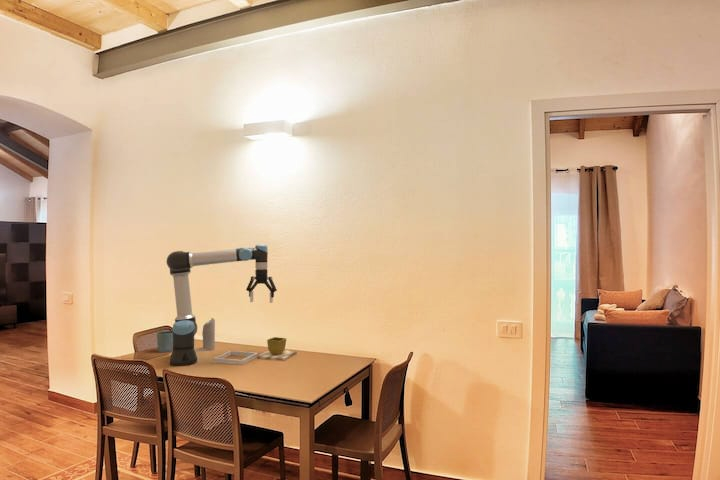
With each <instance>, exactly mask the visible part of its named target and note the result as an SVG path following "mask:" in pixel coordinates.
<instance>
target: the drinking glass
mask: <svg viewBox="0 0 720 480" xmlns="http://www.w3.org/2000/svg"><path fill="white" fill-rule="evenodd" d="M156 339H157V352H158V353H169V352H171V351H173V330H163V331H162V330H160V331H157V332H156Z"/></svg>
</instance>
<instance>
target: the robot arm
mask: <svg viewBox="0 0 720 480" xmlns="http://www.w3.org/2000/svg"><path fill="white" fill-rule="evenodd" d="M250 260H252V261H253V260H255V264H254V265H255V266H254V267H255V270H254V274H255V276H254V275H252V276H250V280H249V283H248V284H247V287H246V292H248V297H250V298H249V299H250V301H249V302H250V303H253V302H254V291H253V290H254V289H255V288H256V287H257V286H258V284H259V285H260V284H264V285H265V286H266V287H267V290H268V291H269V303H270V304H272V303H273V301H274V297H275V292H277V291H278V289H277V287H276V286H275V282H274V281H273V277H272V276H268V246H267V244H256V245H255V247H237V248H232V249H224V250H222V249H221V250H214V251H204V252H201V251H200V252H195V253H194V252H191V251H183V250H176V251H172V252H171V253H169V254H168V255H167V258H166V265H167V267H168V268H169V274H170V275H171V276H172V278H173V279H172V280H173V287H174V288H173V289H174V297H175V298H174V299H175V305H176V306H175V307H176V317H175V318H174V323H173V325H172V328H171V329H172V330H171V331H173V344H172V345H173V347H172V352H171V354H170V357H169V360H168V364H169V365H170V366H173V367H179V366H180V367H181V366H183V367H184V366H190V365H194V364H196V363H197V362H198V355H197V352H196V351H195V349H196V348H195V336H196V334H197V332H198V324H197V322H196V321H197V320H196V319H197V318H196V315H195V314H194V313H193V309H192V298H191V290H190V289H191V288H190V281H189V280H190V279H189V275H190V273H191V272H192V271H191V269H192V268H193V267H198V266H206V265H207V266H208V265H215V264H225V263H235V262H236V263H237V262H247V261H250Z"/></svg>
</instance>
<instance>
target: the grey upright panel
mask: <svg viewBox="0 0 720 480" xmlns="http://www.w3.org/2000/svg"><path fill="white" fill-rule="evenodd" d="M215 321H216V319H215V318H213V317H211V319H209V320H208V322H207V321H206V322H205V324H203V325H202V333H201V334H202V347H200V348H199V347H198V348H194V349H195V352H196V351H197V352H200V351H201V352H202V351H203V352H204V351H206V352H207V351H213V350H215V348H216V347H215V346H216V345H215V343H216V342H215V341H216V339H215V338H216V336H215V335H216V333H215V332H216V329H215V328H216V325H215V324H216V322H215Z"/></svg>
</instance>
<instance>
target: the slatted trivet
mask: <svg viewBox="0 0 720 480" xmlns="http://www.w3.org/2000/svg"><path fill="white" fill-rule="evenodd" d="M297 352H298V351H297V350H287V349H286V350H285V349H284V351H283V352H282V353H281V354H278V355H277V354H271V353H270V351H269V349H268V350H267V351H264V352H262V353H260V354H258V356H257V358H256V359H257V360H270V361H287V360H288V359H290V358H291V357H293V356H295V355H297Z"/></svg>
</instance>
